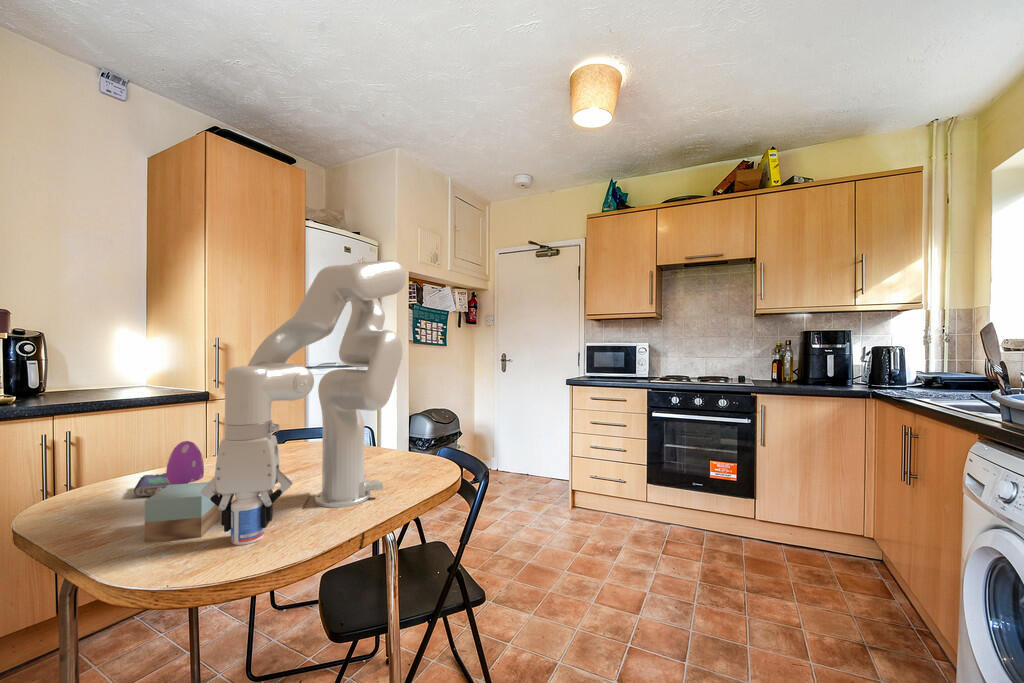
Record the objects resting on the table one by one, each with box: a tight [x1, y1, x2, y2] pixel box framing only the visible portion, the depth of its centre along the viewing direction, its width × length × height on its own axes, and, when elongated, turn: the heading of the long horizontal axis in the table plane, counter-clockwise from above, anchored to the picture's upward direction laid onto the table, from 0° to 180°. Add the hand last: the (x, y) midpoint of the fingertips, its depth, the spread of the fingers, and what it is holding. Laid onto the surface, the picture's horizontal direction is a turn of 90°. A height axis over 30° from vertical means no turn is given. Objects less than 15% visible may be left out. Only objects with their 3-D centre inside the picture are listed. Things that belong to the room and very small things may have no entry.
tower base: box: [144, 505, 221, 542], centre depth 85 cm, size 9×9×4 cm
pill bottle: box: [230, 492, 265, 546], centre depth 81 cm, size 6×5×10 cm
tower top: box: [144, 481, 215, 523], centre depth 85 cm, size 9×9×4 cm
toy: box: [165, 440, 205, 484], centre depth 96 cm, size 7×7×15 cm
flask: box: [133, 472, 175, 497], centre depth 106 cm, size 9×3×11 cm
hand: (247, 525), depth 81 cm, fingers closed on pill bottle, 5 cm apart
